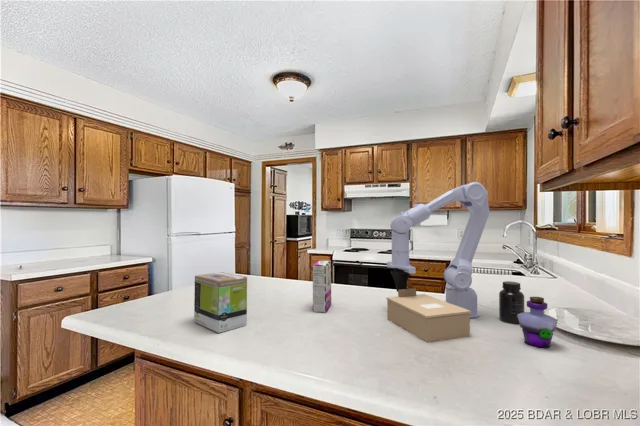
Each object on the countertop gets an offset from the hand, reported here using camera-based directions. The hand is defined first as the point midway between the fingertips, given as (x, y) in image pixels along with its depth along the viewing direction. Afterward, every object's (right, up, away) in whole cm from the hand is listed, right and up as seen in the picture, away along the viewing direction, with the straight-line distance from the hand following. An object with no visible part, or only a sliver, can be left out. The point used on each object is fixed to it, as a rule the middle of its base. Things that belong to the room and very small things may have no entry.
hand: (400, 291), depth 107 cm
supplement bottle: (+33, -8, -8) cm, 35 cm away
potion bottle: (+28, -7, -26) cm, 39 cm away
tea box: (-58, -8, -10) cm, 59 cm away
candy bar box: (-26, -8, +7) cm, 28 cm away
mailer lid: (+4, -1, -13) cm, 13 cm away
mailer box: (+4, -7, -13) cm, 15 cm away
